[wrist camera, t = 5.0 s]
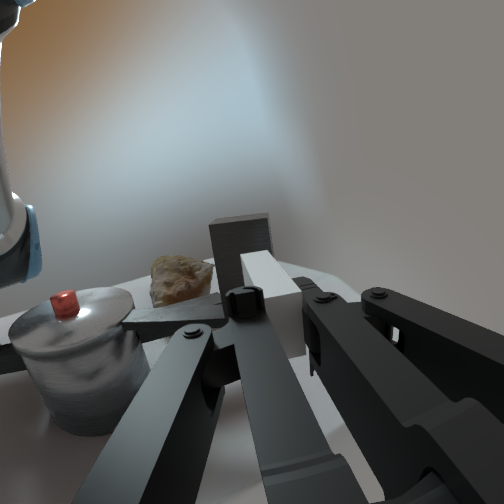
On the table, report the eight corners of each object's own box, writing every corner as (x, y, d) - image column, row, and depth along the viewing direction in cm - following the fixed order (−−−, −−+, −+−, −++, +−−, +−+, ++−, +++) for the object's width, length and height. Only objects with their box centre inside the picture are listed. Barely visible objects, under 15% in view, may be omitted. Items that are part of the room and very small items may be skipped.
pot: (17, 447, 18) (-29, 374, 16) (33, 381, 30) (6, 320, 28) (258, 388, 29) (246, 308, 26) (215, 336, 40) (203, 272, 38)
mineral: (134, 247, 64) (178, 245, 68) (137, 289, 65) (180, 285, 69) (151, 264, 40) (220, 259, 45) (157, 329, 41) (222, 320, 46)
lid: (-10, 351, 20) (-37, 274, 18) (62, 298, 33) (46, 239, 31) (279, 368, 17) (263, 235, 15) (279, 284, 30) (270, 204, 28)
